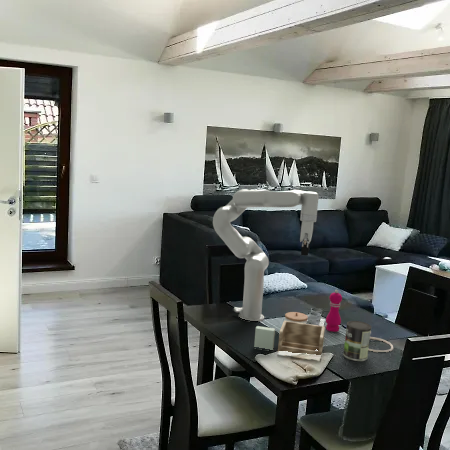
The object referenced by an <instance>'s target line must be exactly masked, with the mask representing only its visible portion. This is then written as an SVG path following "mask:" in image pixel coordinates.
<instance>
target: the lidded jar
mask: <svg viewBox="0 0 450 450" xmlns="http://www.w3.org/2000/svg"><path fill="white" fill-rule="evenodd" d="M308 319H309V317H308V315H307V314H305V313H302V312H298V311H290V312H289V311H288V312H286V313H285V315H284V321H290V322H297V323H304V324H306V323H307V324H308Z"/></svg>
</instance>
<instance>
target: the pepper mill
mask: <svg viewBox="0 0 450 450" xmlns="http://www.w3.org/2000/svg"><path fill="white" fill-rule="evenodd" d="M328 299H329V301H330V302H329V306H330V309H329V312H328V314H327V316H326V318H325V323H326V325H325V330H326V331H328V332H332V333H334V332H335V333H336V332H339V331H340V325H341V323H342V318H341V315H340V312H339V310H340V307H341V302H342V301H343V296H342V295H341V293H339V290H338V289H335V290H334V292H331V293H330V295H329V298H328Z"/></svg>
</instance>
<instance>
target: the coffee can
mask: <svg viewBox="0 0 450 450" xmlns="http://www.w3.org/2000/svg"><path fill="white" fill-rule="evenodd" d="M345 325H346V327H345V328H346V329H345V336H344V337H345V338H344V345H343V352H342V355H343V356H344V357H345V358H346V359H347V360H351V361H356V362H364V361H366V360H368V357H369V351H368V349H370V348H369V347H370V341H371V339H370V337H371V333H372V331H371V330H372V325H371V324H369V323H368V322H364V321H362V320H361V321H359V320H349V321H347V322H346V324H345ZM370 332H371V333H370Z"/></svg>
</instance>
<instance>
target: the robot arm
mask: <svg viewBox="0 0 450 450" xmlns="http://www.w3.org/2000/svg"><path fill="white" fill-rule="evenodd" d="M296 206H301V210H300V218H299V220H300V221H301V227H300V228H301V229H300V238H299V241H300V243H301V242H302V244H301V251H300V256H309V252H310V247H311V241H312V236H313V232H314V223H316V222H317V217H318V208H319V193H318V192H315V191H304V190H299V189H291V190H287V191H272V190H268V189H247V188H242V189H239V190H237V191H236V192H235V193H234V194H233V195H232V199H231V200H230V201H229V202H228V203H226V205H225V206H220V207H219V208H217V210H216V211H215V212H214V215H213V218H212V226H213V229H214V231H215V233H216V234H217V236H219V238H220V239H221V240H222V241H223V242H224V244H225V245H226V246H227V248H228V249H229V250H230V251H231V252H232V253H233V254H234V256H235V257H237V258H238V259H245V260H246V262H245V264H244V284H243V298H242V299H243V300H242V307H236V306H234V308H233V311H234V312H235V313H239V314H238V318H239V317H240V318H242V319H245V320H250V321H258V322H262V321H263V320H265V316H264V314H262V311H263V310H262V308H263V298H264V296H263V295H264V287H265V286H264V285H265V282H264V281H265V278H264V277H265V270H267V268H268V266H269V264H270V261H269V258H268V256H267V254H266V253H265V252H264V251H263V250H262V248H261V247H260V246H259V245H258V244H257V242H256V241H254V239H252V238H251V237H249V236H242V234H240V232H239V231H238V230H237V229H236V228H235V227H234V226H233V225H232V224H231V222H234V221H236V220H237V218H239V217H240V216H241V215H242V214H243V213H244V212H245V210H247V208H295V207H296ZM240 318H239V319H240ZM242 319H241V320H242ZM245 320H244V321H245ZM250 321H249V322H250Z"/></svg>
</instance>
